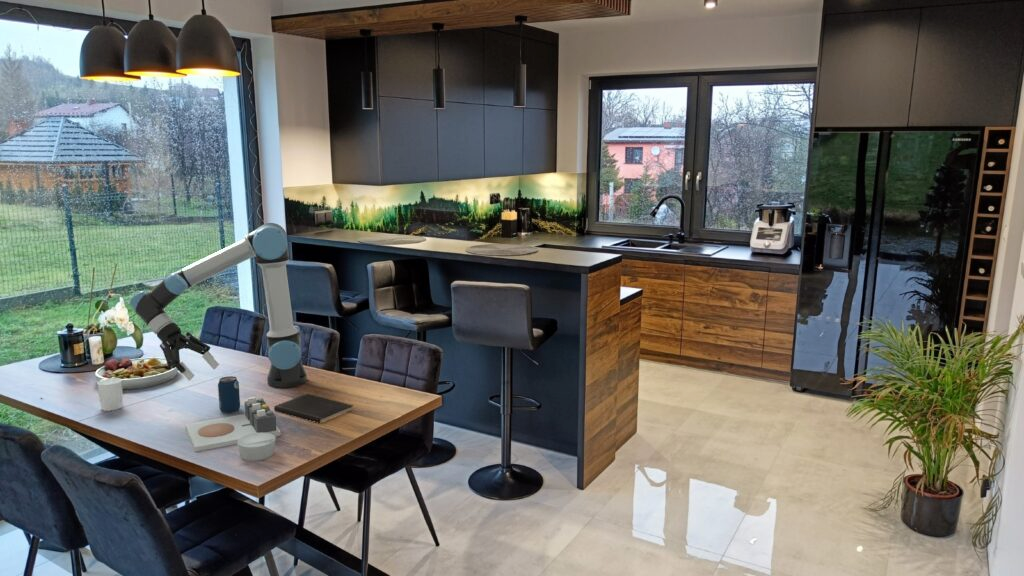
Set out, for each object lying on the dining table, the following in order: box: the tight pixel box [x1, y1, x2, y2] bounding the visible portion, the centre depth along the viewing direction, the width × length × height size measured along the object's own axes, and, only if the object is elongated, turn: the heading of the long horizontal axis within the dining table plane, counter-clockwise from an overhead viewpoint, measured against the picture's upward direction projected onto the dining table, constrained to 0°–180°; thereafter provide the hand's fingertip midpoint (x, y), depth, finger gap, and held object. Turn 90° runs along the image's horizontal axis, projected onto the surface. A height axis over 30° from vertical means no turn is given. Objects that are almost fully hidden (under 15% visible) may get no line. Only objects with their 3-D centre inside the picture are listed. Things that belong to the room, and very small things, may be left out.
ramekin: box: [236, 433, 277, 462], centre depth 221 cm, size 11×11×5 cm
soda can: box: [217, 375, 241, 415], centre depth 258 cm, size 7×7×12 cm
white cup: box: [96, 378, 124, 412], centre depth 260 cm, size 8×8×10 cm
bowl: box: [94, 357, 179, 390], centre depth 292 cm, size 30×30×8 cm
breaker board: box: [184, 396, 282, 452], centre depth 239 cm, size 26×22×8 cm
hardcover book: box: [273, 393, 354, 424], centre depth 260 cm, size 16×23×2 cm
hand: (204, 372), depth 258 cm, fingers open, 13 cm apart
